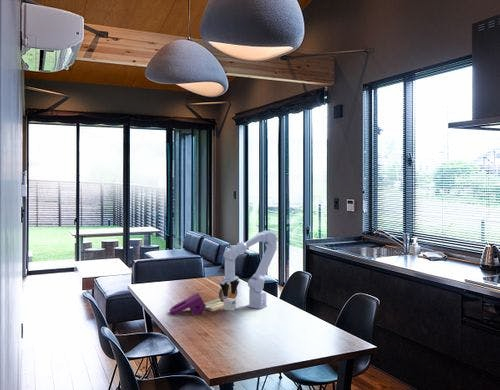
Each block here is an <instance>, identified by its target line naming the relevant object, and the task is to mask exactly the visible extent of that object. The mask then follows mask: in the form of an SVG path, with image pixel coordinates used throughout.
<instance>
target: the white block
mask: <svg viewBox="0 0 500 390" xmlns="http://www.w3.org/2000/svg"><path fill="white" fill-rule="evenodd" d="M236 303H237V302H236V298H235V299H231V298H227V299H224V307H223V310H225V311H230V312H231V311H234V310H236Z"/></svg>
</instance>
